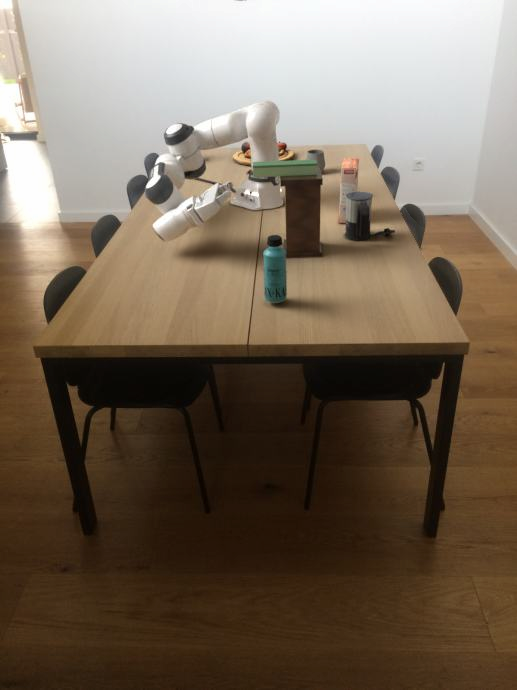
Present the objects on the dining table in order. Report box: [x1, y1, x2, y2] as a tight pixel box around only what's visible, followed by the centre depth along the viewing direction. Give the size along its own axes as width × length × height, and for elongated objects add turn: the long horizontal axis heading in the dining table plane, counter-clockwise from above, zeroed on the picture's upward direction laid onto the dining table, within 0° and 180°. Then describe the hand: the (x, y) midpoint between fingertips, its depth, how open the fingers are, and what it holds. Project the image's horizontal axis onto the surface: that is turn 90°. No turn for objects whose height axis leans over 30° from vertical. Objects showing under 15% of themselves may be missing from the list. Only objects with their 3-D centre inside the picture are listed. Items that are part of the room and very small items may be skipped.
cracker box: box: [338, 157, 360, 224], centre depth 215 cm, size 14×6×21 cm, turn 168°
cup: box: [305, 149, 326, 174], centre depth 271 cm, size 10×9×10 cm
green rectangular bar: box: [253, 159, 317, 177], centre depth 182 cm, size 20×5×4 cm, turn 89°
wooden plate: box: [232, 141, 295, 167], centre depth 298 cm, size 32×32×8 cm
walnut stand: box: [280, 167, 324, 259], centre depth 190 cm, size 13×13×26 cm
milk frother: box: [344, 190, 396, 241], centre depth 200 cm, size 14×16×15 cm
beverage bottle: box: [262, 234, 288, 304], centre depth 160 cm, size 6×7×20 cm
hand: (231, 187), depth 185 cm, fingers open, 8 cm apart
